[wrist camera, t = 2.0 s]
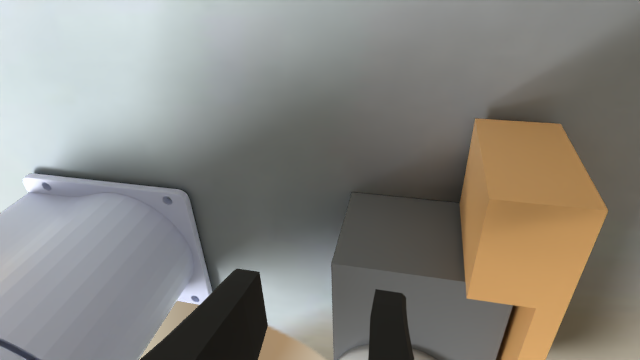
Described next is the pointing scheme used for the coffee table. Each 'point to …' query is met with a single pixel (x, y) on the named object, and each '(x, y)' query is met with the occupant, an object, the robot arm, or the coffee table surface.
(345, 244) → the block
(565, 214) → the tan l-shaped bracket
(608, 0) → the coffee table surface
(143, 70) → the coffee table surface
